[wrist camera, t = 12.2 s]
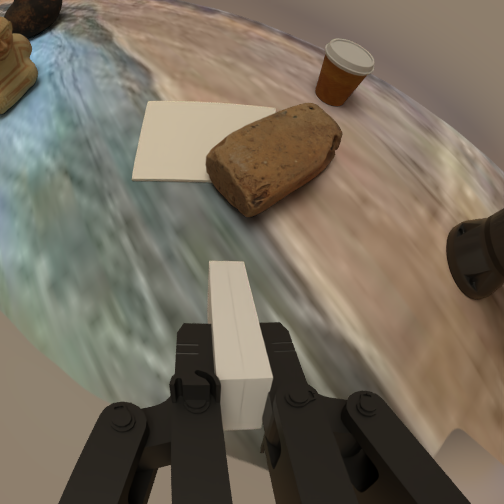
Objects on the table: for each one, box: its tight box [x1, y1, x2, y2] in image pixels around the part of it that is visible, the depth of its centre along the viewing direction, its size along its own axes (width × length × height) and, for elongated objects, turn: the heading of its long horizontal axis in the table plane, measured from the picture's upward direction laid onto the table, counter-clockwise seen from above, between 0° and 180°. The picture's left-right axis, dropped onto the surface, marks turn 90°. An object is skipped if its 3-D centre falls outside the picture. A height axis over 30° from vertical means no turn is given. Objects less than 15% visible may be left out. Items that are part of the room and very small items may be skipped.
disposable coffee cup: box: [315, 39, 374, 106], centre depth 50 cm, size 10×10×12 cm
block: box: [205, 103, 342, 217], centre depth 43 cm, size 11×8×20 cm
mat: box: [132, 101, 276, 183], centre depth 46 cm, size 22×16×1 cm
